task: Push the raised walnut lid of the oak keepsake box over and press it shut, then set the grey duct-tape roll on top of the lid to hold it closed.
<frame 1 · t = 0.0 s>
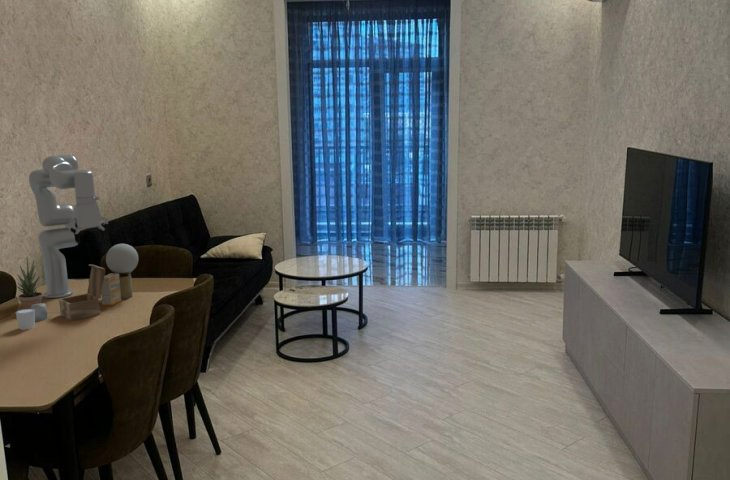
hand: (90, 241, 283), 31 cm above the table, fingers open, 9 cm apart
lid: (94, 281, 289), point 13 cm above the table, hinge at 105.0°
lamp: (124, 297, 314), on the table
keepsake box: (80, 314, 286), on the table
potted plant: (32, 311, 295), on the table
tape roll: (40, 318, 282), on the table
white cylinder: (27, 328, 270), on the table
supplement box: (112, 303, 303), on the table
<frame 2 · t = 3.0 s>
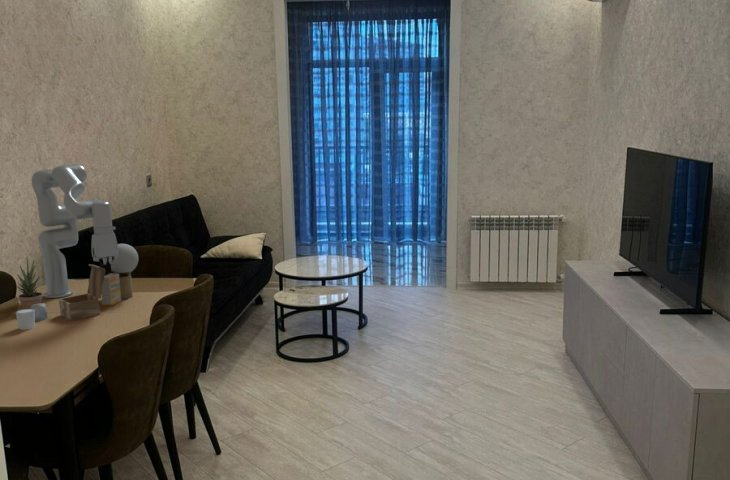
hand: (107, 272, 290), 17 cm above the table, fingers closed
lid: (94, 281, 289), point 13 cm above the table, hinge at 105.0°, touching gripper
everything else where it was.
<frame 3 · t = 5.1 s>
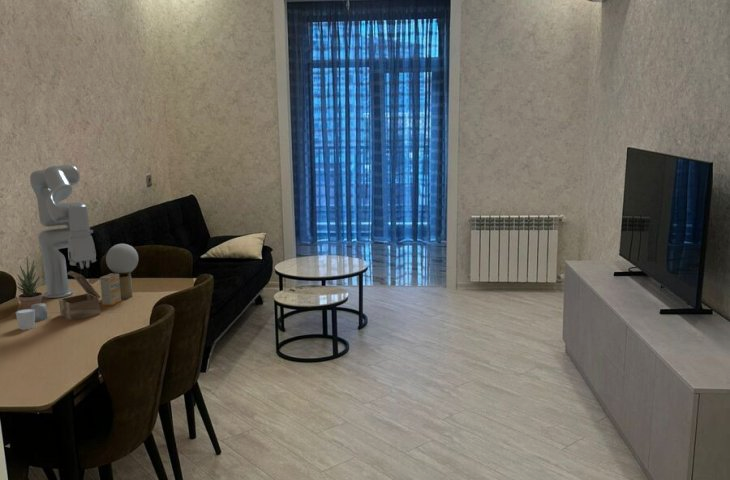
hand: (84, 277, 283), 16 cm above the table, fingers closed
lid: (83, 285, 286), point 12 cm above the table, hinge at 58.9°, touching gripper
everything else where it was.
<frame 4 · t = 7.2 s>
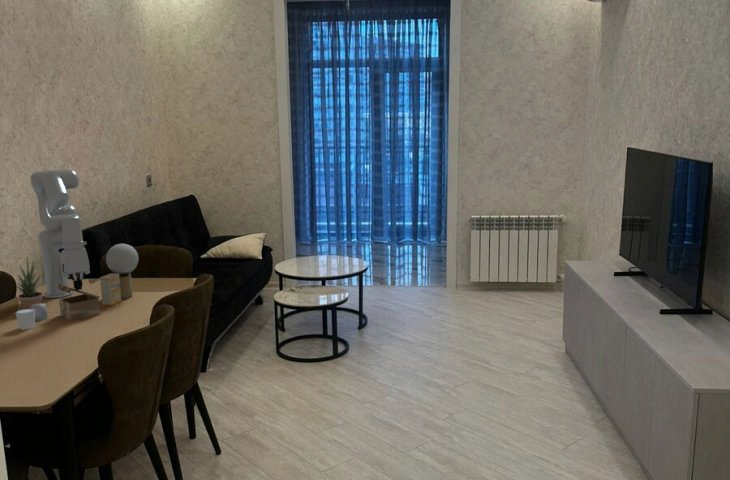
hand: (78, 289, 281), 12 cm above the table, fingers closed
lid: (78, 292, 285), point 10 cm above the table, hinge at 26.9°, touching gripper
everything else where it was.
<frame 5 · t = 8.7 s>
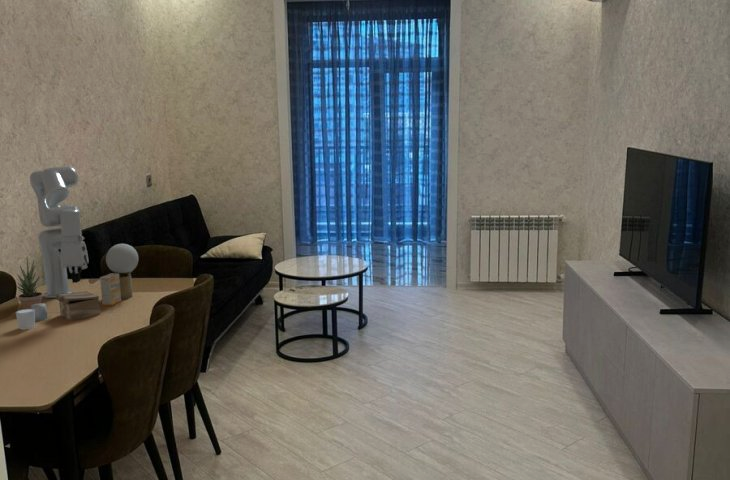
hand: (76, 281, 282), 15 cm above the table, fingers closed
lid: (77, 297, 285), point 7 cm above the table, hinge at 5.8°
everything else where it was.
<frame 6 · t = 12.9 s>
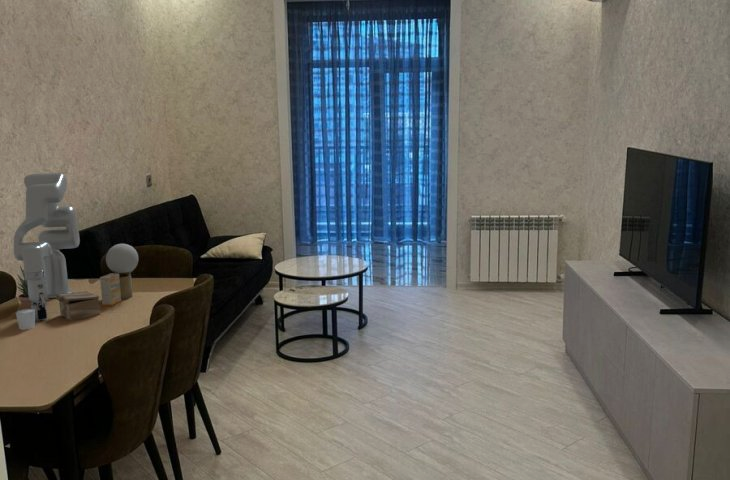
hand: (39, 316, 282), 1 cm above the table, fingers closed on tape roll, 5 cm apart
tape roll: (40, 318, 282), on the table, touching gripper
everything else where it was.
when the fingers open (10 cm above the table, at t = 19.0 s): tape roll stays where it is, resting on lid.
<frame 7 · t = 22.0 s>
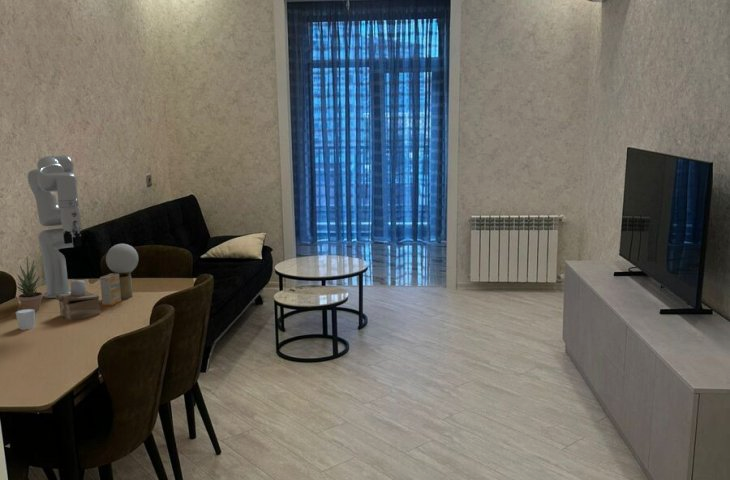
hand: (72, 244, 281), 30 cm above the table, fingers open, 9 cm apart
lid: (77, 297, 285), point 7 cm above the table, hinge at 5.6°, touching tape roll
tape roll: (78, 295, 285), point 8 cm above the table, tilted 6°, touching lid
everything else where it was.
at the end: lid at +6° (first picture: +105°); tape roll inside the target area on the keepsake box (0.1 cm from its centre), point 8.5 cm above the keepsake box's base; tape roll tilted 6° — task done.
